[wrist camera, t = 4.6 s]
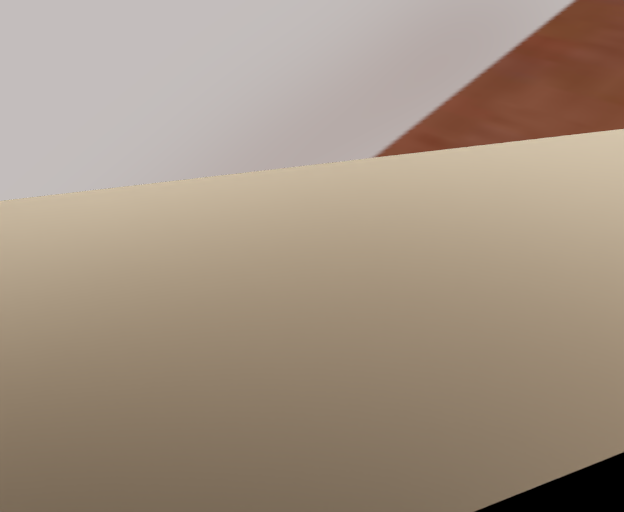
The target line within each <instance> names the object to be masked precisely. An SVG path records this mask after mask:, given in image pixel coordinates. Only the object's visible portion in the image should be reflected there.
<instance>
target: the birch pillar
mask: <svg viewBox="0 0 624 512" xmlns="http://www.w3.org/2000/svg"><path fill="white" fill-rule="evenodd" d="M557 478H558V498H557V512H624V129H619V130H611V131H602V132H593V133H585V134H576V135H567V136H559V137H550V138H541V139H533V140H524V141H515V142H507V143H498V144H489V145H481V146H472V147H463V148H455V149H446V150H437V151H429V152H420V153H411V154H403V155H394V156H385V157H377V158H368V159H359V160H351V161H342V162H334V163H325V164H316V165H308V166H299V167H290V168H282V169H273V170H264V171H256V172H247V173H239V174H230V175H221V176H212V177H204V178H196V179H187V180H178V181H169V182H160V183H152V184H144V185H134V186H126V187H117V188H108V189H100V190H92V191H82V192H74V193H66V194H56V195H48V196H39V197H30V198H22V199H13V200H4V201H0V512H532V509H531V506H530V502H529V499H528V495H527V492H526V491H527V490H530V489H532V488H535V487H537V486H540V485H542V484H545V483H547V482H550V481H552V480H555V479H557Z"/></svg>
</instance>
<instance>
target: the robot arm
mask: <svg viewBox="0 0 624 512" xmlns="http://www.w3.org/2000/svg"><path fill="white" fill-rule="evenodd" d="M526 492H527V495H528V499H529V502H530V506H531V509H532V512H557V498H558V478H557V479H555V480H552V481H550V482H547V483H545V484H542V485H540V486H537V487H535V488H532V489H530V490H527V491H526Z"/></svg>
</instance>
